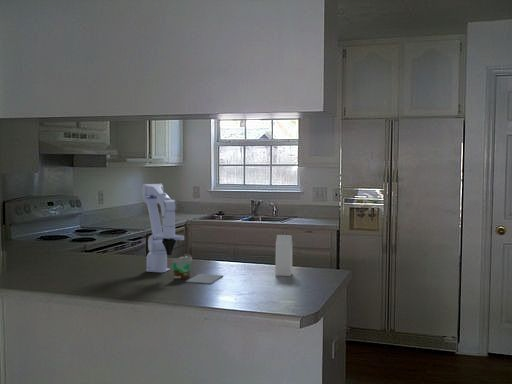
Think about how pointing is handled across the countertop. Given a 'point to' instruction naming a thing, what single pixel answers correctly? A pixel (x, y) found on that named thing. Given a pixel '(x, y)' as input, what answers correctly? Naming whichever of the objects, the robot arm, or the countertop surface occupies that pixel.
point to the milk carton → (283, 255)
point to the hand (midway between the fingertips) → (169, 255)
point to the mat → (204, 278)
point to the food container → (182, 267)
